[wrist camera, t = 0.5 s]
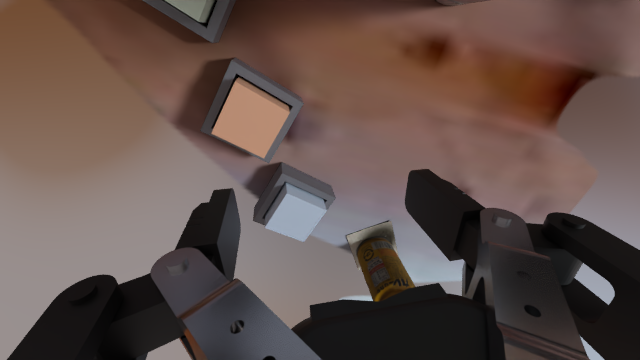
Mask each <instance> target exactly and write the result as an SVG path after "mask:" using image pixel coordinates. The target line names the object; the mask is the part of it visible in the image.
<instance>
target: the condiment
mask: <svg viewBox="0 0 640 360" xmlns="http://www.w3.org/2000/svg"><path fill="white" fill-rule="evenodd" d="M385 236H386V237H385ZM347 239H348V242H349V245H350V248H351V251H352V254H353V256H354V259H355V262H356V265H357V268H358V270H360V269H362V272H363V274H364V277H365V280H366V283H367V285H368V288H369V291H370V293H371V296H372V299H373V301H383V300H385V299H387V298H389V297H391V296H393V295H396V294H398V293H400V292H402V291H404V290H406V289H408V288H413V287H415V285H414V284H413V282H412V280H411V278H410V276H409V275H408V273H407V271H406V269H405V268H404V266H403V264H402V262H401V260H400V259H399V257H398V252H397V247H396V242H395V237H394V232H393V227H392V222H391V221H389V222H385V223H382V224H379V225H376V226H372V227H370V228H367V229H363V230H361V231H359V232H355V233H353V234H350V235H347ZM362 239H363V240H362ZM361 241H362V242H361Z"/></svg>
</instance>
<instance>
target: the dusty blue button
mask: <svg viewBox="0 0 640 360" xmlns="http://www.w3.org/2000/svg"><path fill="white" fill-rule="evenodd" d="M326 211H327V210H326V206H325V203H324V200H323V198H321V197H319V196H316V195H314V194H312V193H310V192H308V191H305V190H303V189H301V188H299V187H297V186H294V185H292V184H290V183H288V182H286V181H285V182H284V184H283V186H282V187H281V189H280V190H279V192H278V193H277V195H276V197H275V198H274V200H273V201H272V203H271V205H270V206H269V208H268V209H267V211H266V213H265V228H267V229H269V230H272V231H275V232H278V233H280V234H283V235H286V236H289V237H291V238H294V239H297V240H300V241H303V242H304V241H305V240H306V238H307V237H308V236H309V234H310V233H311V231H312V230H313V229H314V227H315V226H316V225H317V223H318V222H319V221H320V219H321V218H322V217H323V215H324V214H325V212H326Z"/></svg>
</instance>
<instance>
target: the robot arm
mask: <svg viewBox="0 0 640 360" xmlns="http://www.w3.org/2000/svg"><path fill="white" fill-rule="evenodd" d="M436 1H437V2H439V3H442V4H444V5H451V6H456V5H462V4H469V3H475V2H482V1H489V0H436ZM405 206H406V209H407V211H408V213H409V214H410V215H411V216H412V217H413V219H414V220H415V221H416V222H417V223H418V224H419V226H420V227H421V228H422V229H423V230H424V231H425V233H426V234H427V235H428V236H429V237H430V238H431V240H432V241H433V242H434V243H435V244H436V246H437V247H438V248H439V249H440V250H441V251H442V253H443V254H444V255H445V256H446V257H447V258H448V260H449V261H454V260H460V259H463V260H464V261H465V262H464V265H463V274H462V296H459V295H454V294H446V292H445V291H444V289H443V288H442V287H441V286H440V284H439V283H436V284H430V285H424V286H419V287H413V288H408V289H406V290H404V291H402V292H400V293H398V294H396V295H393V296H391V297H389V298H387V299H385V300H383V301H360V300H338V301H332V302H326V303H320V304H315V305H310V318H307V319H305V320H303V321H302V322H300V323H298V324H297V325H296V326H295V327H293V328H292V329H290V328H289V327H288V326H287V325H286V324H285V323H284V322H283V321H282V320H281V319H280V318H279V317H277V315H275V314H274V313H273V312H272V311H271V310H270V309H269V308H268V307H267V306H266V305H265V304H264V303H263V302H262V301H261V300H260V299H259V298H258V297H257V296H256V295H255V294H254V293H253V292H252V291H251V290H250V289H249V288H248V287H247V286H246V285H245V284H243V282H242V281H240V280H239V279H234V280H233V278H234V271H235V264H236V257H237V251H238V245H239V238H240V218H239V213H238V208H237V203H236V198H235V194H234V190H233V189H232V188H230V189H221V190H214V191H213V193H212V196H211V199H210V201H209V202H207V203H201V204H200V205H199V206H198V207H197V208H195V209H194V210H193V212H192V214H191V216H190V218H189V221H188V222H187V225H186V227H185V229H184V231H183V234H182V235H181V237H180V240H179V242H178V244H177V246H176V248H175V250H174V251H171V252H169V253H167V254H165V255H164V256H162V257H161V258H160V259H158V260H157V261H156V263H155V264H154V265H153V267H152V269H151V273H149V274H147V275H145V276H142V277H139V278H136V279H133V280H130V281H128V282H125V283H122V284H119V285H118V283H117V281H116V279H115V278H114V277H113V276H110V275H97V276H92V277H89V278H86V279H84V280H81V281H79V282H77V283H75V284H74V285H72V286H70V287H69V288H67V289H66V290H64V291H63V292H62V293H60V294H59V295H58V296H57V297H56V298H55V299H54V300H53V302H52V303H51V304H50V305H49V307H48V308H47V309H46V310H45V312H44V313H43V314H42V316H41V317H40V318H39V319H38V321H37V322H36V323H35V325H34V326H33V327H32V328H31V330H30V331H29V332H28V333H27V335H26V336H25V337H24V339H23V340H22V341H21V343H20V344H19V345H18V346H17V348H16V349H15V350H14V351H13V353H12V354H11V355H10V356H9V358H8V359H7V360H146V357H147V354H148V352H150V351H152V350H154V349H156V348H158V347H160V346H163V345H165V344H167V343H169V342H171V341H173V340H175V339H178V338H179V339H180V341H181V342H182V344H183V346H184V347H185V349H186V351H187V352H188V354H189V356H190V357H191V359H192V360H590V359H589V358H588V356H587V354H586V351H585V349H584V346H583V344H582V341H581V338H580V336H581V337H582V338H583V339H584V340H585V341H586V342H587V343H588V344H589V345H590V346H591V347H592V348H593V349H594V350H595V351H596V352H597V353H599V354H600V355H601V356H602V357H603V358H604V359H605V360H640V250H638V249H637V248H635V247H633V246H631V245H629V244H628V243H626V242H624V241H623V240H621V239H619V238H617V237H616V236H614V235H612V234H610V233H609V232H607V231H605V230H603V229H601V228H600V227H598V226H596V225H594V224H593V223H591V222H589V221H587V220H585V219H583V218H580V217H577V216H574V215H571V214H566V213H558V212H556V213H550V214H548V215H547V217H546V219H545V221H544V224H531V223H525V221H524V220H523V219H522V218H521V217H519V216H518V215H516V214H514V213H512V212H509V211H507V210H503V209H498V208H485V207H483V206H482V205H480V204H479V203H478V202H476V201H475V200H474V199H472V198H471V197H470V196H468V195H467V194H465V193H464V192H463V191H461V190H460V189H458V188H457V187H456V186H455V185H453V184H452V183H450V182H448V181H446V180H443V179H441V178H440V177H438V176H437V175H436V174H434V173H433V172H432V171H430V170H429V169H421V170H412V171H411V172H410V173H409V176H408V183H407V189H406V196H405ZM583 263H584V264H586V265H587V266H589V267H590V268H591V269H592V270H594V271H595V272H597V273H598V274H599V275H601V276H602V277H604V278H605V279H606V280H607V281H609V282H610V284H611V285H612V286H613V288H614V291H615V297H614V299H613V300H612V301H611V303H610V304H609V305H608V304H606V303H605V302H604V301H602V300H601V299H600V298H599V297H598V296H596V295H595V294H594V293H593V292H591V291H590V290H589V289H588V288H586V287H585V286H584V285H583V284H581V283H580V282H579V281H578V280H576V279H575V278H574V277H575V275H576V274H577V271H578V270H579V269H580V267H581V265H582V264H583ZM579 335H580V336H579Z"/></svg>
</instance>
